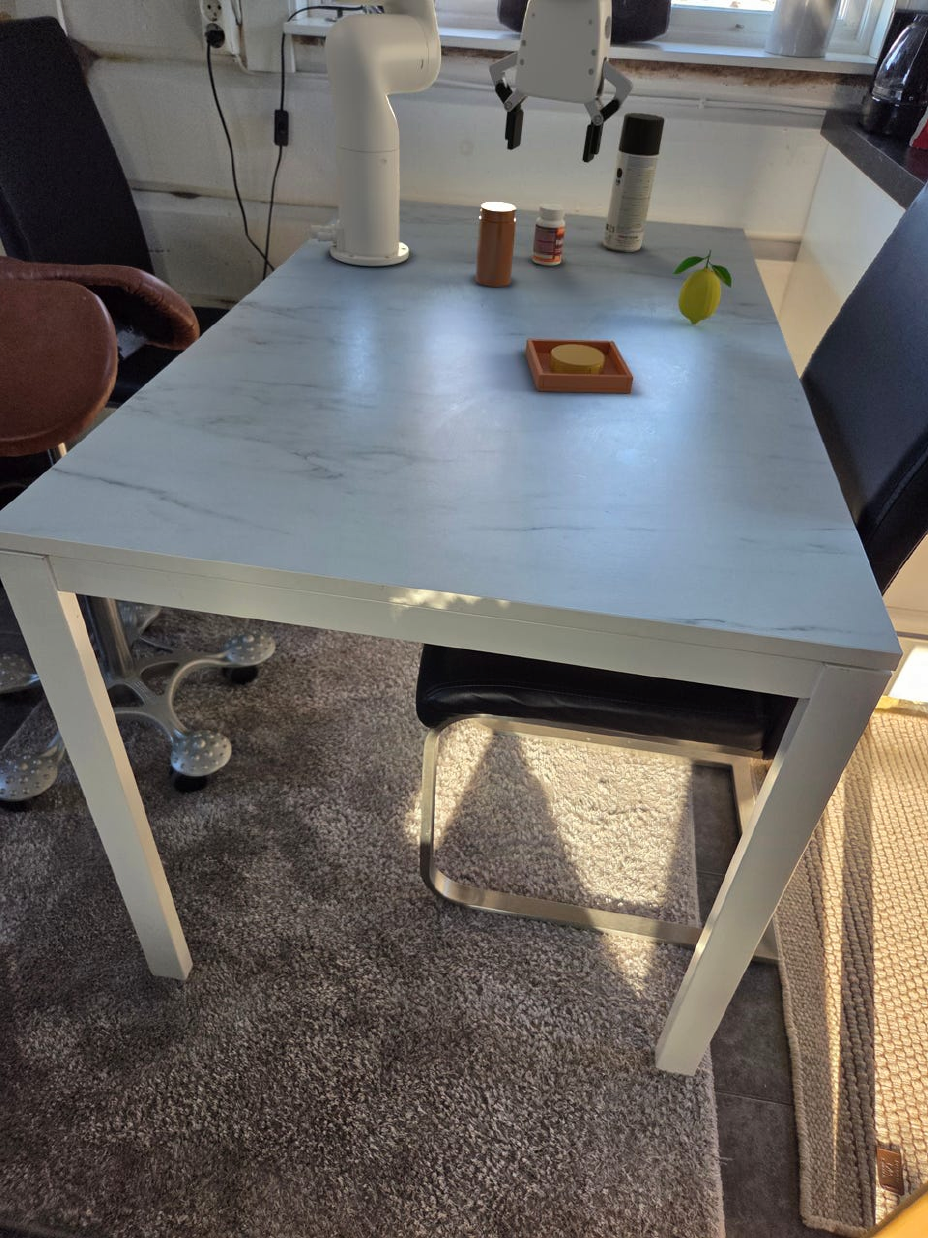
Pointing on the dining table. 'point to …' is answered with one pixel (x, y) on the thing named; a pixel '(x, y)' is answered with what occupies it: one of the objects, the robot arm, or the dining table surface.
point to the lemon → (701, 289)
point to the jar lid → (576, 360)
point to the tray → (610, 380)
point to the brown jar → (495, 244)
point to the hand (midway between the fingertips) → (550, 153)
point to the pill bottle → (549, 235)
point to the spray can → (633, 181)
